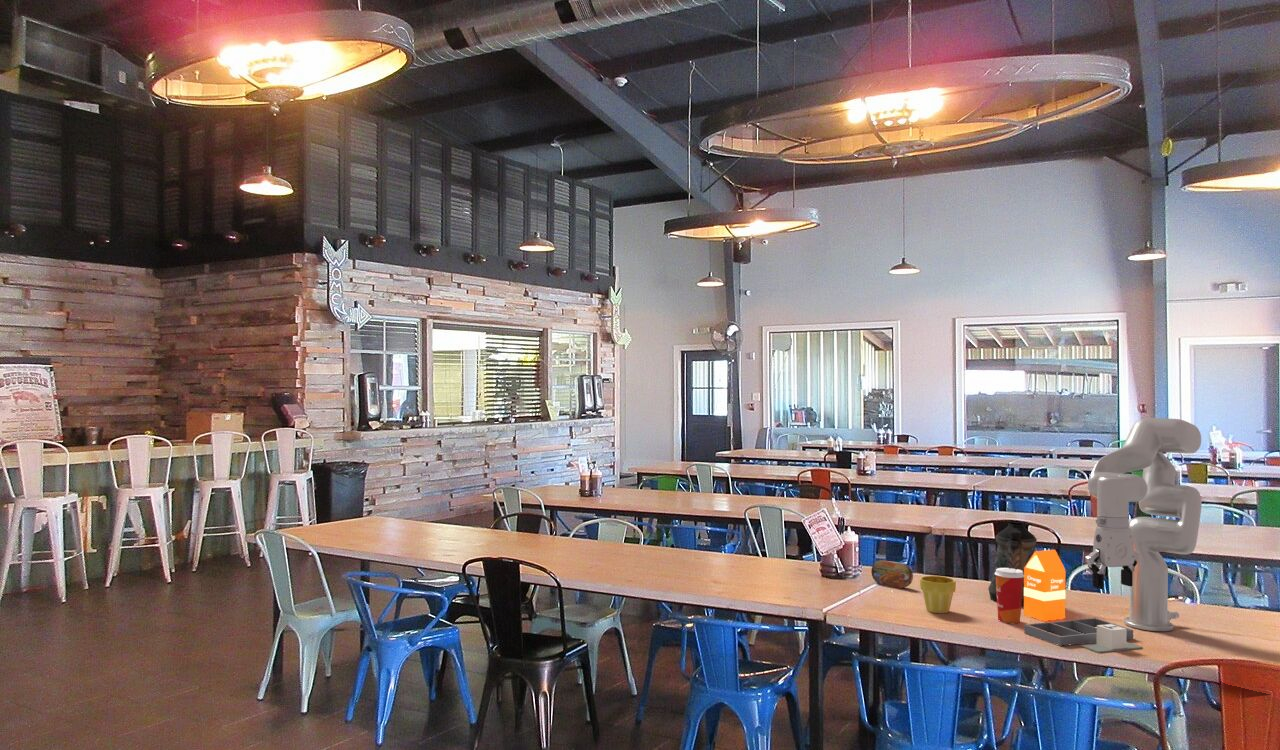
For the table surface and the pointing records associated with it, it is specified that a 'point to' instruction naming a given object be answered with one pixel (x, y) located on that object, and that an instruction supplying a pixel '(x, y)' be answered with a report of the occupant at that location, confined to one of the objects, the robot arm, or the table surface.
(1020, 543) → the dark ornate vase
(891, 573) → the tin
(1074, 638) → the sorting box
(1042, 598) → the orange juice
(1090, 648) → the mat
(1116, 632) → the letter cube
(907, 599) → the table surface
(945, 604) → the plant pot
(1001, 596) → the coffee cup
